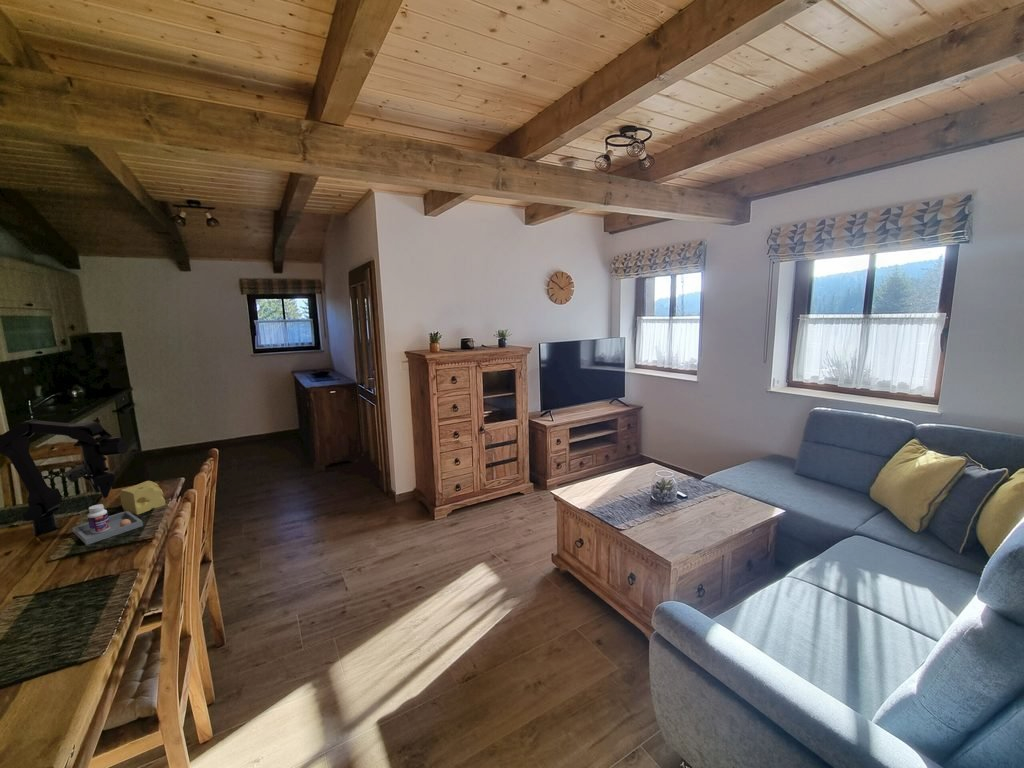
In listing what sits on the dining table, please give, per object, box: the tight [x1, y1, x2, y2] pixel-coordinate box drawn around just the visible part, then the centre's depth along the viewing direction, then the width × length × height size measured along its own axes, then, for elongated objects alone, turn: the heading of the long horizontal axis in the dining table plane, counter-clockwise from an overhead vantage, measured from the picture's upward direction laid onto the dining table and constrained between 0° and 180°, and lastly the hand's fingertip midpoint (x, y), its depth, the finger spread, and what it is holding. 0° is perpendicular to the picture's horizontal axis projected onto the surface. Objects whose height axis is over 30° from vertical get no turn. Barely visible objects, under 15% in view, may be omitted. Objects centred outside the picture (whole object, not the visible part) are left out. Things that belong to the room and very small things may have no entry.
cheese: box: [119, 480, 166, 516], centre depth 180 cm, size 10×11×10 cm
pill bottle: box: [86, 503, 110, 534], centre depth 161 cm, size 5×5×10 cm
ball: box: [120, 519, 131, 527], centre depth 164 cm, size 3×3×3 cm
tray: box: [72, 510, 144, 546], centre depth 163 cm, size 16×16×3 cm
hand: (101, 495), depth 165 cm, fingers open, 9 cm apart
